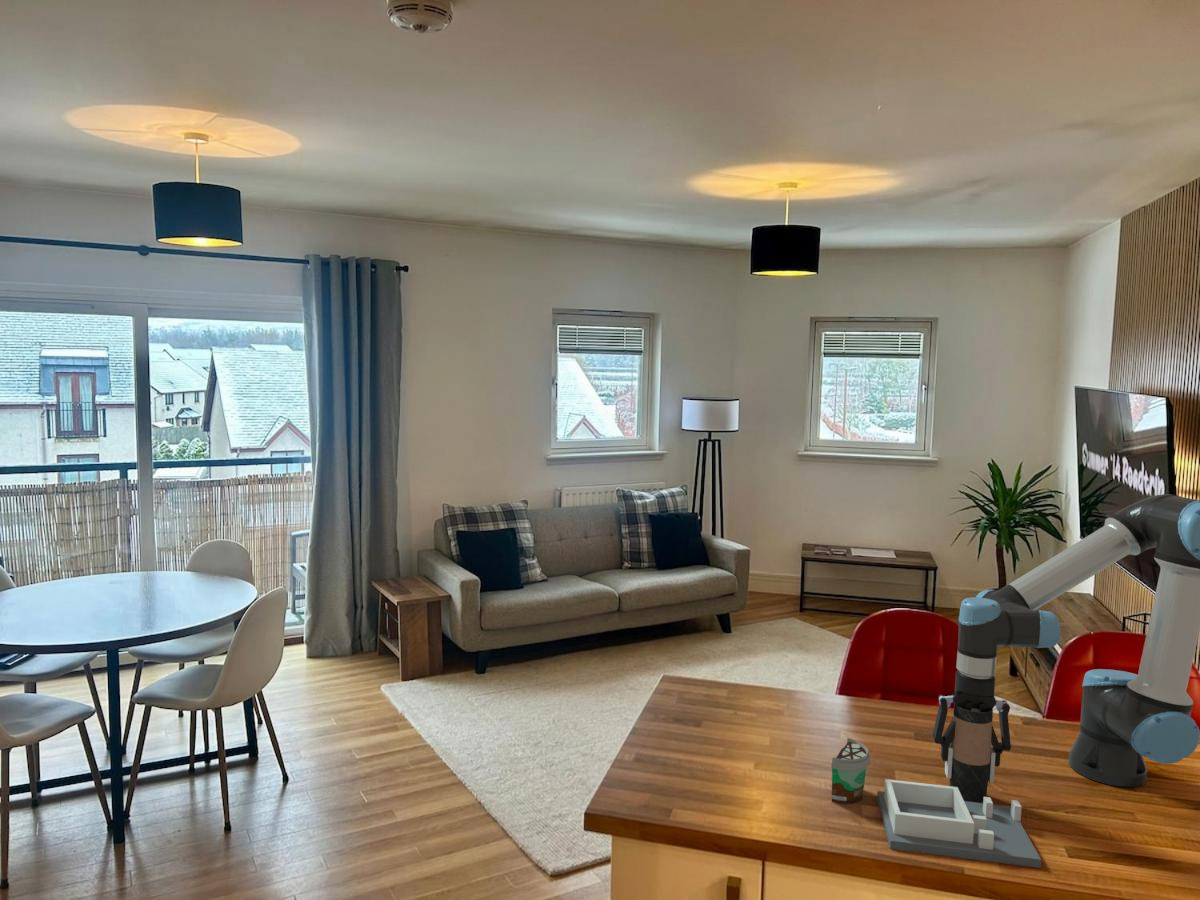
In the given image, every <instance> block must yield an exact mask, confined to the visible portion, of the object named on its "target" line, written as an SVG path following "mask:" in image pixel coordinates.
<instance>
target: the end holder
mask: <svg viewBox="0 0 1200 900" xmlns="http://www.w3.org/2000/svg"><path fill="white" fill-rule="evenodd" d="M883 792H884V799H885V803H886V806H887V810H888V813H889V817H890V821H891V824H892V828H893V832H894V834H897V835H905V836H913V837H921V838H929V839H937V840H945V841H953V842H961V843H969V844H973V835H974V822H973V820H972V817H971V815H970V813H969V811H968V809H967V807H966V804H965V802H964V800H963V798H962V796H961V794H960V791H959V789H958V787H952V786H950V785H944V784H943V785H941V784H933V783H926V782H925V783H923V782H916V781H907V780H898V779H897V780H896V779H888V778H885V779H884V791H883ZM897 801H898V802H906V803H915V804H923V805H932V806H940V807H949V808H952V809H953V811H954V813H955V816H956V818H957V819H955V818H946V817H938V816H930V815H921V814H913V813H905V812H900V810H899V807H898V804H897Z"/></svg>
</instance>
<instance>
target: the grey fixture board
mask: <svg viewBox="0 0 1200 900" xmlns="http://www.w3.org/2000/svg"><path fill="white" fill-rule="evenodd" d="M876 792H877V794H876V795H877V796H876V797H877V798H876V799H877V804H878V806H879V807H878V808H879V810H880V815H881V819H882V822H883V823H882V824H883V826H884V827H883V828H884V831H885V833H886V838H887V842H888V845H889V849H890V850H897V851H904V850H905V851H906V852H912V851H913V853H919V852H924V853H923V854H927V853H929V855H936V856H937V855H938V856H943V855H944V857H951V856H952V858H957V859H958V858H959V859H968V860H975V861H983V862H989V863H991V862H992V863H997V864H1006V865H1015V866H1021V867H1022V866H1023V867H1029V868H1030V867H1031V868H1036V869H1037V868H1038V869H1041V866H1042V859H1041V857H1040V855H1039V854H1038V851H1037V850H1036V848H1035V846H1034V844H1033V843H1032V840H1031V839H1030V837H1029V836H1028V834H1027V832H1026V830H1025V828H1024V827H1023V825H1022V823H1021V821H1014V820H1013V818H1012V816H1011V805H1010V806H1008V805H1001V804H994V803H993V813H992V818H988V817H986V819H987V824H986V830H990V831H993V833H994V843H993V850H990V849H982V848H979V847H978V834H977V833H974V835H973V844H969V843H961V842H953V841H945V840H937V839H929V838H921V837H913V836H905V835H897V834H894V832H893V828H892V824H891V821H890V817H889V813H888V810H887V806H886V803H885V799H884V791H880V790H877V791H876ZM964 802H965V804H966V807H967V809H968V811H969V813H970V815H971V817H972V815H978V816H985V815H984V813H983V803H976V802H968V801H964ZM897 804H898V807H899V810H900V812H905V813H913V814H921V815H930V816H938V817H946V818H955V819H957V818H956V816H955V813H954V811H953V809H952V808H949V807H940V806H932V805H923V804H915V803H906V802H898V801H897ZM905 851H904V852H905Z"/></svg>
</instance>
